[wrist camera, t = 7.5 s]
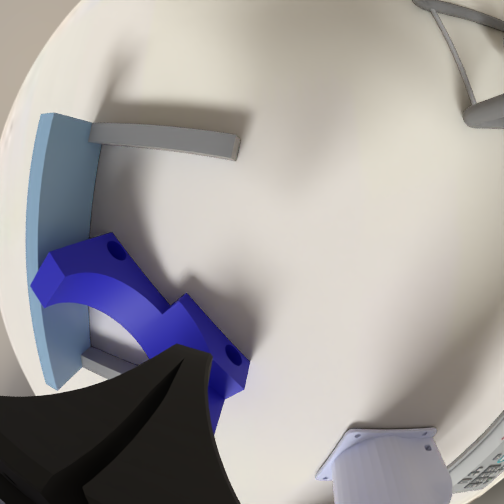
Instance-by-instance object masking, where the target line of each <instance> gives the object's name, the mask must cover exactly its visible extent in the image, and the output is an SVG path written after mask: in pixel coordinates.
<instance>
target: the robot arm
mask: <svg viewBox="0 0 504 504" xmlns="http://www.w3.org/2000/svg"><path fill="white" fill-rule="evenodd" d="M212 360H213V356H212V355H211V353H208V352H204V351H201V350H197V349H194V348H190V347H187V346H184V345H180V344H175V345H173V346H171V347H169V348H168V349H166V350H165V351H163V352H161V353H160V354H158V355H156V356H155V357H153V358H151V359H149V360H148V361H146V362H144V363H142V364H140V365H139V366H137V367H135V368H133V369H131V370H129V371H127V372H125V373H122V374H120V375H118V376H116V377H114V378H111V379H109V380H106V381H104V382H101V383H98V384H95V385H92V386H89V387H85V388H82V389H77V390H73V391H68V392H63V393H58V394H52V395H43V396H31V397H10V396H0V504H240V502H239V500H238V498H237V496H236V494H235V492H234V490H233V488H232V486H231V484H230V481H229V479H228V477H227V474H226V471H225V469H224V466H223V463H222V461H221V458H220V455H219V452H218V449H217V445H216V441H215V438H214V433H213V429H212V424H211V418H210V411H209V402H208V383H209V377H210V371H211V366H212ZM436 432H437V429H436V428H435V427H432V428H418V429H386V430H381V429H350V430H348V431H347V432H346V433H345V435H344V436H343V438H342V439H341V441H340V442H339V444H338V445H337V447H336V448H335V449H334V451H333V452H332V454H331V455H330V456H329V458H328V459H327V461H326V462H325V463H324V465H323V466H322V467H321V469H320V470H319V471H318V473H317V474H316V475H315V479H316V480H325V481H332V482H333V492H334V503H335V504H449V503H450V500H451V497H452V490H453V486H452V479H451V476H450V474H449V472H448V469H447V467H446V465H445V463H444V460H443V458H442V456H441V454H440V452H439V450H438V447H437V445H436V443H435V441H434V439H433V436H434V435H435V434H436Z"/></svg>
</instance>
